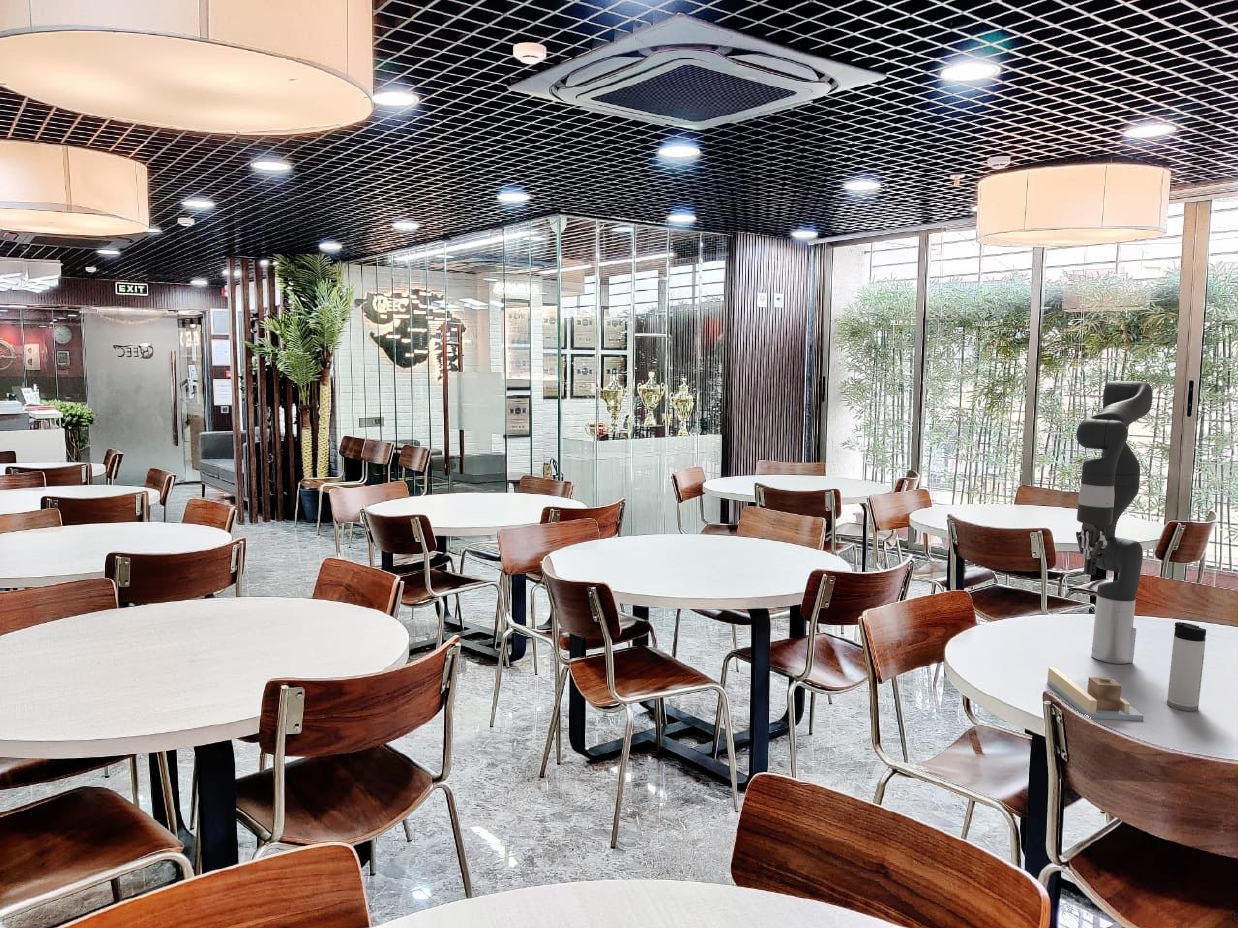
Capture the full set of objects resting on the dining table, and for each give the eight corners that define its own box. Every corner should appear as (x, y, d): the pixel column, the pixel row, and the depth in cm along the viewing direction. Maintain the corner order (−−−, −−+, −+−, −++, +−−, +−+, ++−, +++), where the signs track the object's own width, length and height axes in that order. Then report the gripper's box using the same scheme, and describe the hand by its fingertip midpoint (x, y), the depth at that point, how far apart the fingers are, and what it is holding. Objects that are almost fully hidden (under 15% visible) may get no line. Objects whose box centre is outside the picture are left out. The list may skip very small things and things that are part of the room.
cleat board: (1096, 685, 224) (1097, 669, 224) (1143, 720, 202) (1145, 702, 202) (1047, 683, 225) (1048, 667, 224) (1088, 718, 203) (1090, 700, 202)
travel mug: (1159, 701, 214) (1167, 619, 212) (1185, 701, 215) (1194, 619, 213) (1177, 711, 208) (1186, 627, 206) (1204, 711, 209) (1213, 627, 206)
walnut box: (1108, 702, 209) (1111, 675, 208) (1119, 711, 204) (1121, 683, 203) (1086, 701, 210) (1089, 674, 209) (1096, 710, 205) (1098, 682, 204)
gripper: (1126, 508, 208) (1119, 581, 210) (1098, 499, 221) (1092, 568, 223) (1092, 507, 209) (1086, 580, 211) (1067, 498, 222) (1061, 567, 224)
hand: (1089, 574), depth 217 cm, fingers closed
